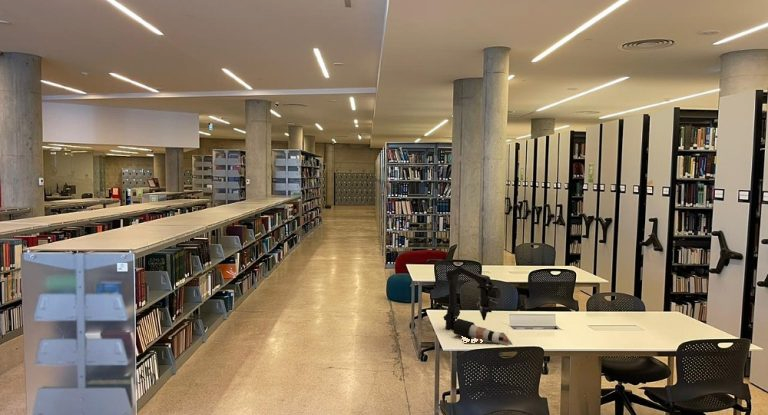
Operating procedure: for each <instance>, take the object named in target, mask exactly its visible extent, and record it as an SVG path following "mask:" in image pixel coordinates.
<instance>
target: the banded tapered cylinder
mask: <svg viewBox="0 0 768 415" xmlns="http://www.w3.org/2000/svg"><path fill="white" fill-rule="evenodd" d="M455 320H456V321H455V324H454V328H453V330H452V331H453V334H454V335H456V336H459V337H460V336H463V337H466V338H471V337H475V338H478V339H482V340H487V341H491V342H495V343H499V342H500V341H504V342H507V343H508V339H509V338H508V339H506V338H503V337H501V334H500V333H501V332H500V333H497V332H496V331H493V330H491V329H487V328H484V327H481V326H478V325H475V323H474V322H472V321H468V320H465V319H461V318H457V319H455Z"/></svg>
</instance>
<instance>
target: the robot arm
mask: <svg viewBox="0 0 768 415" xmlns="http://www.w3.org/2000/svg"><path fill="white" fill-rule="evenodd" d="M445 275H446V276H445V278H446V280H447V282H448V294H449V296H448V298H449V299H448V301H449V305H448V307H447V311H446V314H444V316H443V320H444V321H445V327H444V328H445V330H446V331H447V330H449V331H451V330H452V331H453V328H454V324H455V321H456V320H457V319H459V318H458V317H459V316H460V315H461V307H459V306H458V305H457V304H458V303H457V301H458V300H457V297H458V296H457V282H458V281H459V278H460V275H464V276H465V277H468V278H470V279H472V280H474V281H475V282H476V283H477V284H478V285H477V286H476V289H479V297H478V299H479V301H478V302H476V306H477V308H478V307H479V308H478V310H479V313H480V316H481V317H482V318H481V319H482V320H483V321H486V319H487V318H486V317H487V314H488V313H492V312H493V310H492V309H493V308H495V309H497V308H498V305H499V303H498V302H497V301H496V299H500V297H501V294H502V292H501V290H500V287H499V286H498V287H497V286H495V285H494V284H493V282H492V280H491V277H490V276H489V275H485V274H479V273H477V272H476V271H473V270H471V269H469V268H467V267H465V266H464V265H463V266H458V267H457V268H455V269H452V270H451V269H450V270H447V272H446V273H445Z"/></svg>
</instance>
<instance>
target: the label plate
mask: <svg viewBox="0 0 768 415" xmlns="http://www.w3.org/2000/svg"><path fill="white" fill-rule="evenodd" d="M497 333H500V334H501V337H503V338H506V339H508V343H507V342H504V341H500V342H499V343H495V342H491V341H487V340H483V342H482V343H480V342H481V341H480V339H478V338H476V339H478V341H477V342H475V343H471V339H474V338H475V337H471V338H468V339H470V341H469V342H467V343H464V344H463V345H510V346H511V345H513V343H512V341H511V340H510V338H509V337H508V336H507V334H506V333H505V332H500V331H499V332H497ZM464 342H466V341H464ZM473 342H474V341H473ZM468 343H469V344H468Z"/></svg>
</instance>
